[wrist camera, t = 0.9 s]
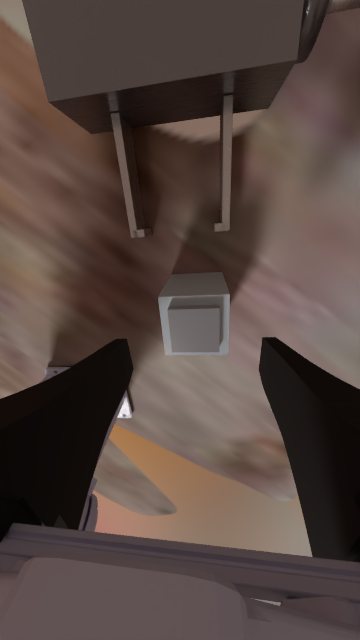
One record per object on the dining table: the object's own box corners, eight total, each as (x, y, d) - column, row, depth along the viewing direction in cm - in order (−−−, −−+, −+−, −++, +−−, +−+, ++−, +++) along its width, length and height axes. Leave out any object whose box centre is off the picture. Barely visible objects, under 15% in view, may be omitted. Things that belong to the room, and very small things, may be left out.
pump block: (175, 319, 20) (164, 360, 15) (171, 274, 19) (155, 300, 13) (221, 318, 20) (229, 360, 14) (222, 271, 18) (230, 297, 12)
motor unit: (112, 237, 18) (85, 243, 14) (64, 1, 12) (-6, -109, 8) (308, 222, 16) (344, 224, 12) (359, -69, 10) (462, -260, 6)
